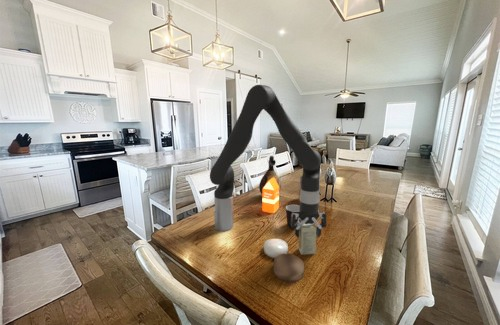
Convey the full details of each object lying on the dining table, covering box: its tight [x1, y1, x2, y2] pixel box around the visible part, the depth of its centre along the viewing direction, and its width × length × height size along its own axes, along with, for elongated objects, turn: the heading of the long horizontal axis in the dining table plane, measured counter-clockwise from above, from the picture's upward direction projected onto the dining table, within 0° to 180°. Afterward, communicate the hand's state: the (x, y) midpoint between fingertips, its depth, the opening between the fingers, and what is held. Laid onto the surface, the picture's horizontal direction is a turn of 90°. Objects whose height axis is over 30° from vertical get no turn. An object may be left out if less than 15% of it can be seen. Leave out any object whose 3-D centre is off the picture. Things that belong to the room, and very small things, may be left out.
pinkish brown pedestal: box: [273, 253, 305, 283], centre depth 77 cm, size 11×11×3 cm
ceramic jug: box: [258, 155, 282, 195], centre depth 146 cm, size 17×15×30 cm
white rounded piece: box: [263, 238, 289, 259], centre depth 88 cm, size 10×10×2 cm
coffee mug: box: [285, 204, 300, 230], centre depth 108 cm, size 12×9×10 cm
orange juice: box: [261, 177, 280, 214], centre depth 127 cm, size 8×9×20 cm
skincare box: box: [298, 223, 317, 255], centre depth 87 cm, size 6×4×12 cm
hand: (307, 236), depth 86 cm, fingers open, 8 cm apart
